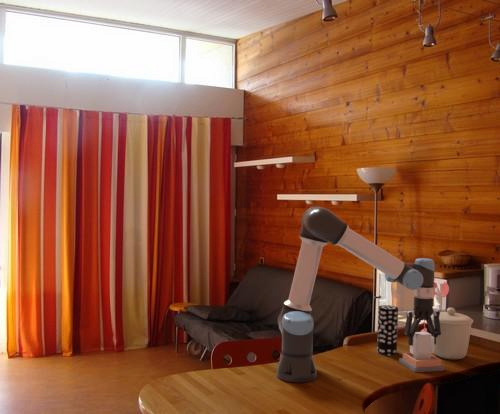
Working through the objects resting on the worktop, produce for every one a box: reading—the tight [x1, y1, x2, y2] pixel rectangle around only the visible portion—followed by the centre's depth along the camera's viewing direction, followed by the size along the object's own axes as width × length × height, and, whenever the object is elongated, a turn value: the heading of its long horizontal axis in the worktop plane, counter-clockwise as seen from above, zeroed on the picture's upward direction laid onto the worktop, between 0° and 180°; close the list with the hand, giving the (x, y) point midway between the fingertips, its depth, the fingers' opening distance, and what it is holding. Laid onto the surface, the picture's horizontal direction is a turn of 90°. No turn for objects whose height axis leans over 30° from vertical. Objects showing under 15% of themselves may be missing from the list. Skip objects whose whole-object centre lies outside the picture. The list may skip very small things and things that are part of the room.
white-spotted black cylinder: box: [376, 304, 399, 357], centre depth 248 cm, size 8×8×20 cm
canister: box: [431, 307, 474, 360], centre depth 245 cm, size 18×18×21 cm
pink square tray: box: [398, 352, 445, 373], centre depth 231 cm, size 13×13×4 cm
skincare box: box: [413, 331, 432, 360], centre depth 231 cm, size 6×4×12 cm
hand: (421, 352), depth 231 cm, fingers open, 8 cm apart
